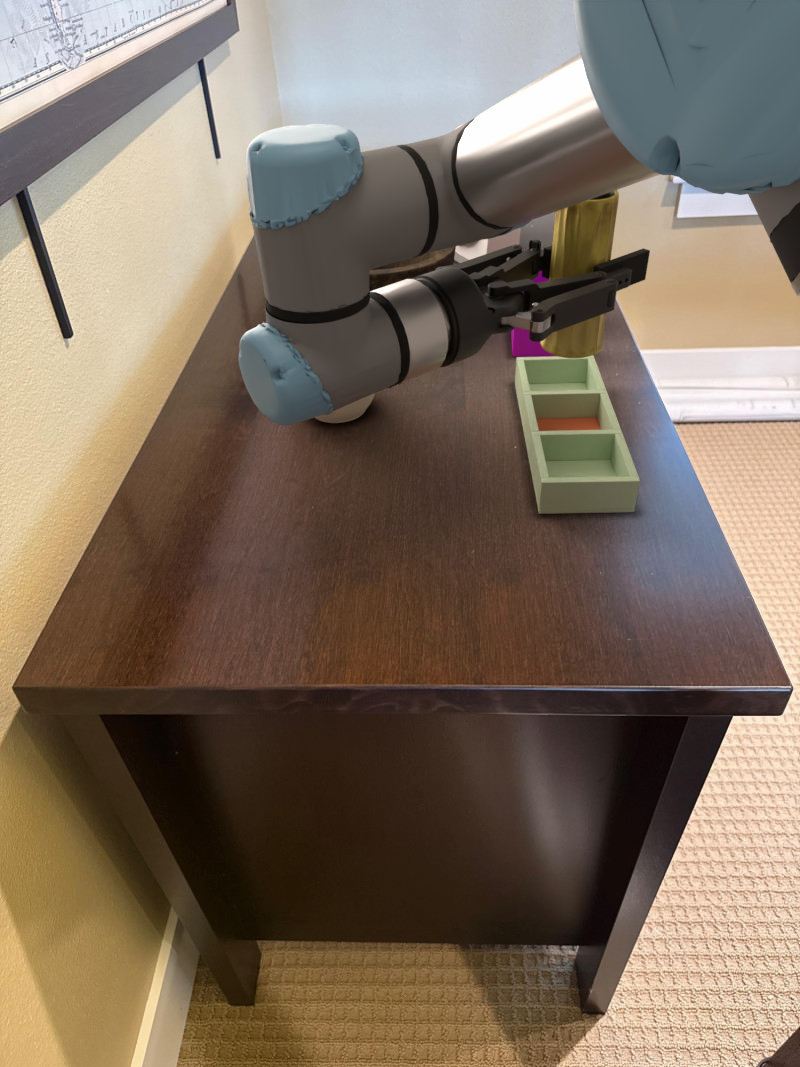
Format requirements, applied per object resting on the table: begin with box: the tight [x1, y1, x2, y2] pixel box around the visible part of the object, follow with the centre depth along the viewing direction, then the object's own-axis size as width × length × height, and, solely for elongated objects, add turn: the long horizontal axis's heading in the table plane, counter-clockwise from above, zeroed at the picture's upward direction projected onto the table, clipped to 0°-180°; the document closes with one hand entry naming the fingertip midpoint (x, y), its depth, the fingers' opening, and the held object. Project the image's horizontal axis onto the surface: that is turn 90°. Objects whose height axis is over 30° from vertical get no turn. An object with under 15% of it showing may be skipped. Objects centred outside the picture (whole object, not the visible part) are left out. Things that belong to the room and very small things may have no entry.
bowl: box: [369, 246, 456, 291], centre depth 109 cm, size 22×22×10 cm
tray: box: [514, 355, 641, 515], centre depth 83 cm, size 26×9×4 cm, turn 179°
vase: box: [540, 190, 620, 358], centre depth 71 cm, size 6×6×14 cm
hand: (618, 255), depth 73 cm, fingers closed on vase, 5 cm apart
